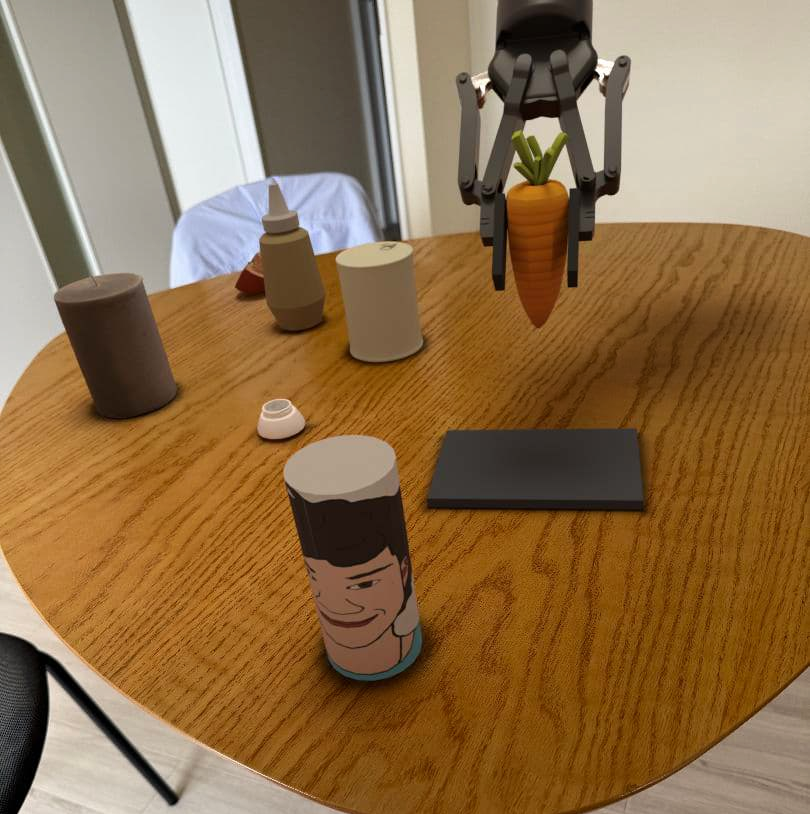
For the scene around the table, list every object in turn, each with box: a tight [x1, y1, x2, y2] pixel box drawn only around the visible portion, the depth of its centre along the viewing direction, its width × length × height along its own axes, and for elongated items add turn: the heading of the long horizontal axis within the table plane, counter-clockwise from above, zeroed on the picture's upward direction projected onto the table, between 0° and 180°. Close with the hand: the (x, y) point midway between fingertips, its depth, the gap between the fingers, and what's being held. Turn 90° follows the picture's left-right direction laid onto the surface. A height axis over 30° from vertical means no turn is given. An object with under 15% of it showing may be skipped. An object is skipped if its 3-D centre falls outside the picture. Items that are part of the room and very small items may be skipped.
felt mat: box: [426, 427, 645, 511], centre depth 70 cm, size 18×12×1 cm, turn 79°
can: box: [335, 240, 424, 363], centre depth 94 cm, size 9×9×12 cm
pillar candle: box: [53, 272, 178, 419], centre depth 89 cm, size 10×10×15 cm
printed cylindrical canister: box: [283, 434, 423, 682], centre depth 51 cm, size 7×7×15 cm
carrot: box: [505, 130, 569, 330], centre depth 61 cm, size 5×5×15 cm
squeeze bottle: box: [258, 182, 326, 331], centre depth 102 cm, size 8×8×18 cm
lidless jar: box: [256, 398, 306, 440], centre depth 82 cm, size 5×3×5 cm
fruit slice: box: [234, 251, 265, 295], centre depth 119 cm, size 8×7×5 cm
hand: (535, 280), depth 59 cm, fingers closed on carrot, 5 cm apart
